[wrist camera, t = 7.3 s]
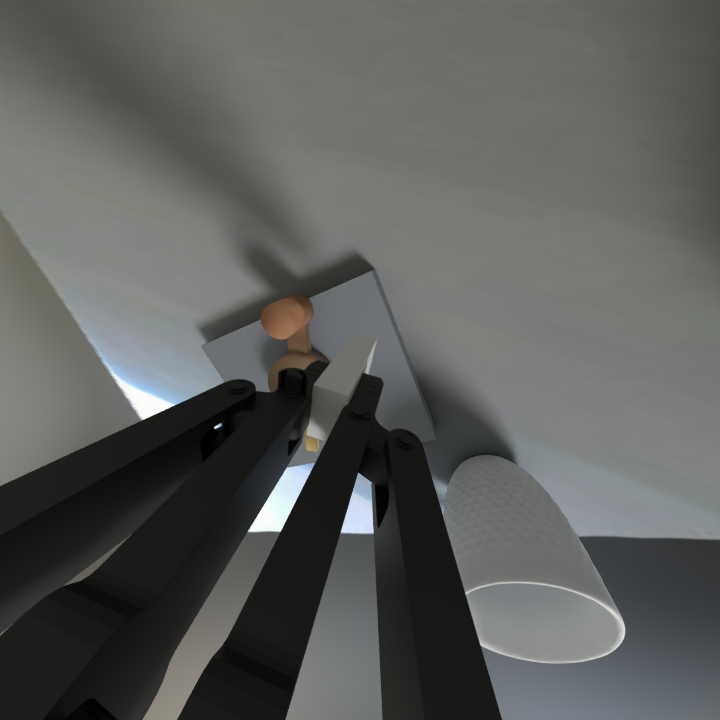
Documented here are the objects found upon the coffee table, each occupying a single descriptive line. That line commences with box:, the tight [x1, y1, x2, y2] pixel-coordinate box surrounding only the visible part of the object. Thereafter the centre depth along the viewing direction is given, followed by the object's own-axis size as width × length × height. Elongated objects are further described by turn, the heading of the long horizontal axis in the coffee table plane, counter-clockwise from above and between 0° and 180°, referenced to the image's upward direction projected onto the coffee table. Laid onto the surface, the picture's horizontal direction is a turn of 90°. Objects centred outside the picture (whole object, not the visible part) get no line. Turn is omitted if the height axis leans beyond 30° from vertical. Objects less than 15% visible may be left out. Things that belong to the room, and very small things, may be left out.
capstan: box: [261, 294, 330, 452], centre depth 24 cm, size 17×6×4 cm, turn 1°
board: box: [201, 269, 437, 467], centre depth 28 cm, size 20×18×2 cm
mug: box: [443, 455, 625, 663], centre depth 25 cm, size 15×11×13 cm
